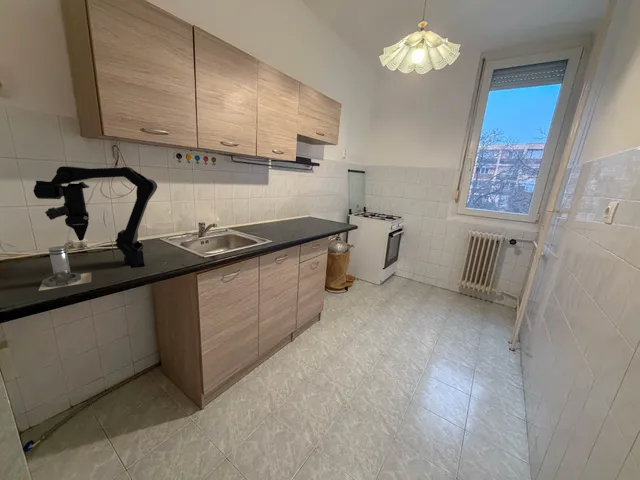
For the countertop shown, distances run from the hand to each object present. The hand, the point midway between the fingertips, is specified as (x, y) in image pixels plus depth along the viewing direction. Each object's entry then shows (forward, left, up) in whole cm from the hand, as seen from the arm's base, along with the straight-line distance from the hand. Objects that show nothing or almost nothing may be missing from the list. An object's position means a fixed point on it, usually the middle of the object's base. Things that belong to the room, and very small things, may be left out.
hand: (81, 237), depth 102 cm
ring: (+6, +15, -12) cm, 20 cm away
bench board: (+5, +16, -13) cm, 21 cm away
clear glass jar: (+6, +15, -12) cm, 20 cm away
